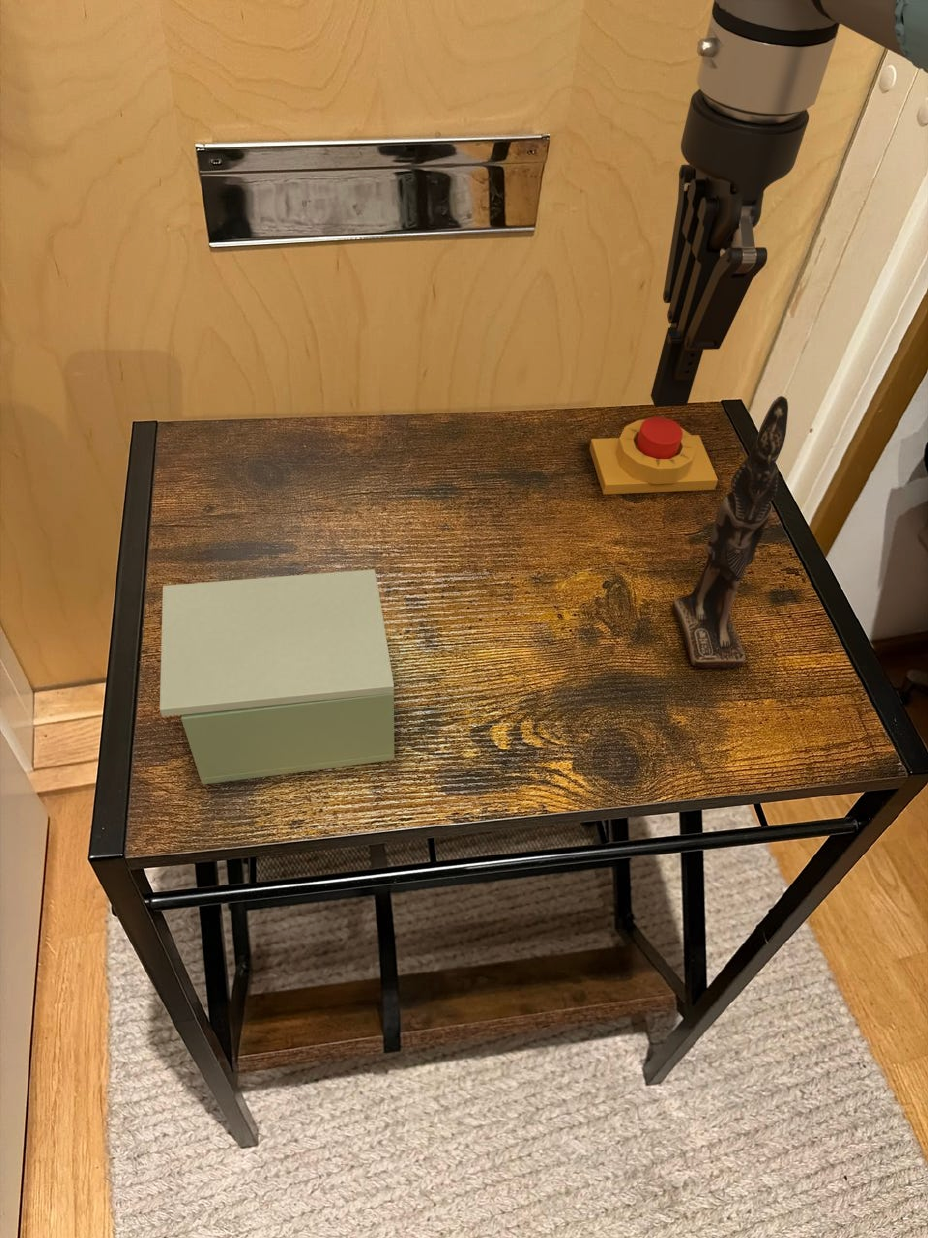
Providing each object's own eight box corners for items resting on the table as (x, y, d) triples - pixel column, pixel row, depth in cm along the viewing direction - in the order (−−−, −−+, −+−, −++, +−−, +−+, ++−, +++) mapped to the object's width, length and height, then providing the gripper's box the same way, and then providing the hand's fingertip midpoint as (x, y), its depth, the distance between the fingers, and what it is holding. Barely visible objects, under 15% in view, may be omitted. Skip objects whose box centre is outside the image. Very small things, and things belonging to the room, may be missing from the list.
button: (672, 431, 83) (676, 415, 81) (682, 458, 80) (687, 443, 79) (632, 433, 82) (636, 417, 81) (642, 460, 80) (646, 444, 79)
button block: (695, 443, 86) (703, 416, 84) (715, 492, 82) (724, 465, 80) (588, 447, 85) (593, 420, 83) (603, 497, 81) (609, 470, 78)
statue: (689, 675, 69) (773, 468, 54) (665, 602, 74) (736, 391, 58) (744, 672, 70) (842, 466, 54) (717, 599, 74) (801, 390, 59)
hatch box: (202, 785, 61) (180, 719, 55) (201, 667, 67) (181, 596, 61) (394, 760, 63) (394, 693, 57) (377, 648, 69) (375, 577, 63)
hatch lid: (161, 717, 55) (159, 709, 54) (164, 593, 61) (162, 585, 60) (393, 693, 57) (394, 685, 57) (375, 576, 63) (375, 568, 62)
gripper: (668, 55, 63) (607, 354, 81) (725, 145, 55) (643, 454, 73) (775, 57, 64) (691, 352, 82) (846, 145, 56) (735, 451, 74)
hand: (668, 400), depth 78 cm, fingers closed
